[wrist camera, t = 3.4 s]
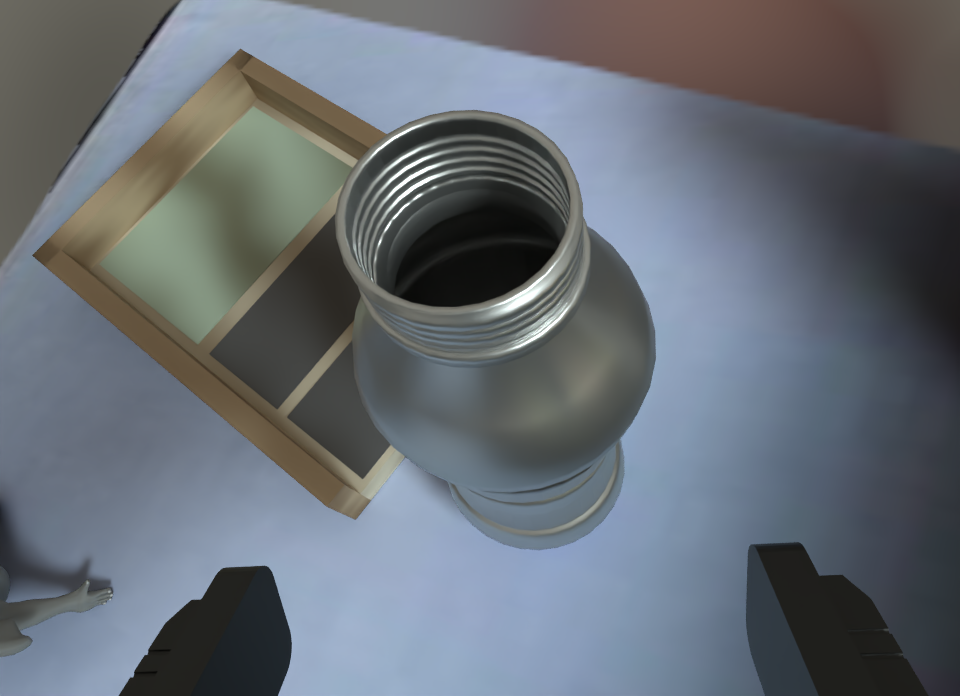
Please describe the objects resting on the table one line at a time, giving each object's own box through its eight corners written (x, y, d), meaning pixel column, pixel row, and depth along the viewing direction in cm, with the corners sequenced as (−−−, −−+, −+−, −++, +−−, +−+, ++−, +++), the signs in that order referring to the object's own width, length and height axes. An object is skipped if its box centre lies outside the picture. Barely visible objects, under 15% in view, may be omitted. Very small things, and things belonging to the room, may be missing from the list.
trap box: (355, 519, 29) (326, 506, 26) (82, 289, 35) (32, 255, 32) (553, 269, 32) (549, 229, 29) (269, 97, 38) (240, 48, 35)
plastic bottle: (471, 390, 30) (297, 31, 12) (630, 410, 29) (705, 42, 11) (443, 541, 28) (177, 384, 10) (613, 570, 27) (671, 452, 9)
